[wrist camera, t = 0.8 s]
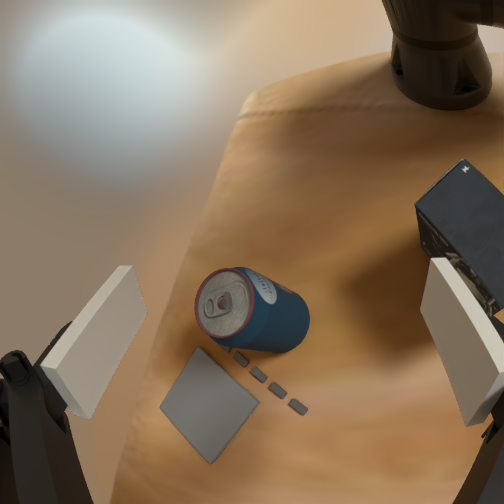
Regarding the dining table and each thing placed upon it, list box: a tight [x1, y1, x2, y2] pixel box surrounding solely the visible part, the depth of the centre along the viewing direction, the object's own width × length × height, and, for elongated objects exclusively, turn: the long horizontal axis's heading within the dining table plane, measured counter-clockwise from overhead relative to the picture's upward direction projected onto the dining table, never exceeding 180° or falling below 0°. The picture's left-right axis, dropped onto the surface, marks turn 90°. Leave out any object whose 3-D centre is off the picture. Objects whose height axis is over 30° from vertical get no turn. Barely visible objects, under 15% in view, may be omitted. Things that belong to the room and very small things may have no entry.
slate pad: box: [160, 346, 260, 464], centre depth 36 cm, size 11×11×1 cm
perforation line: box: [219, 344, 308, 415], centre depth 34 cm, size 1×14×1 cm, turn 52°
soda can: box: [195, 267, 310, 353], centre depth 30 cm, size 7×7×12 cm
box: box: [414, 159, 504, 317], centre depth 22 cm, size 11×7×10 cm, turn 30°
